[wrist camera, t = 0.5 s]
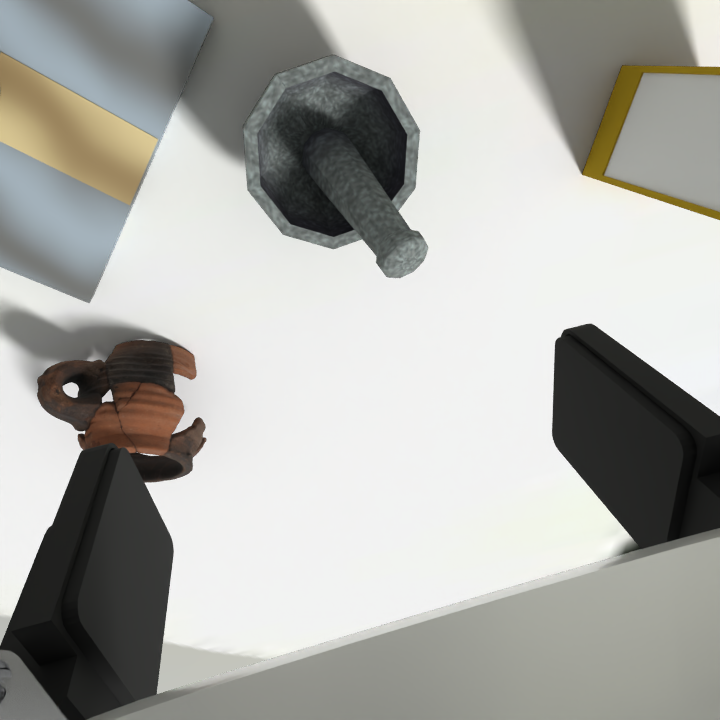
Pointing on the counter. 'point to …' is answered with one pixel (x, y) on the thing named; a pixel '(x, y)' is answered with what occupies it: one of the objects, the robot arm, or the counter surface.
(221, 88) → the counter surface
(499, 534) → the counter surface
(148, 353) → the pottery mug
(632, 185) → the white and gold bottle
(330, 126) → the mortar and pestle
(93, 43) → the latch board
